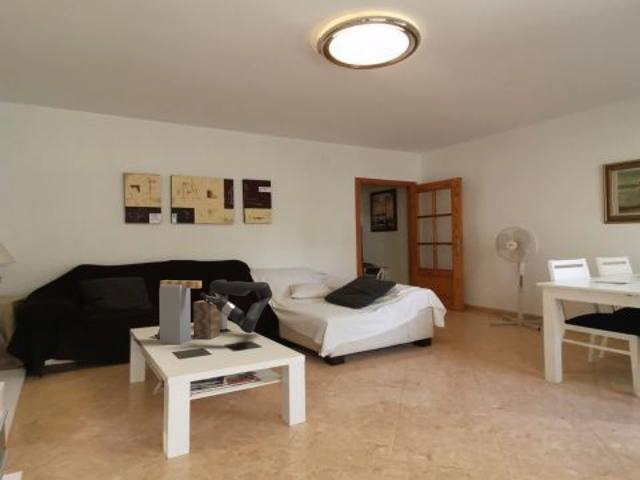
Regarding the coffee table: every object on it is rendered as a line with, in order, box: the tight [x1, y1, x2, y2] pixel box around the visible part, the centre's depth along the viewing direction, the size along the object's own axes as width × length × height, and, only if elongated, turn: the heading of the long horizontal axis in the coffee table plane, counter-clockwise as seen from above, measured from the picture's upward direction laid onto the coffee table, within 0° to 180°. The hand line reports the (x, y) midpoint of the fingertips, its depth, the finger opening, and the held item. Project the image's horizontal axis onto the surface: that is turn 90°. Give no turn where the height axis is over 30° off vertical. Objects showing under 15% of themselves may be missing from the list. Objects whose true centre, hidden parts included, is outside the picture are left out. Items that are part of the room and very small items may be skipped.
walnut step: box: [192, 299, 221, 340], centre depth 254 cm, size 12×10×22 cm
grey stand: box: [158, 284, 192, 345], centre depth 242 cm, size 14×10×34 cm
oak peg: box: [159, 279, 203, 289], centre depth 241 cm, size 26×4×4 cm, turn 72°
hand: (205, 292), depth 236 cm, fingers open, 8 cm apart
